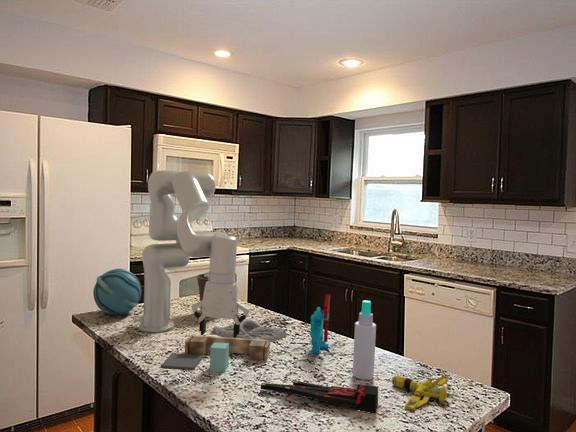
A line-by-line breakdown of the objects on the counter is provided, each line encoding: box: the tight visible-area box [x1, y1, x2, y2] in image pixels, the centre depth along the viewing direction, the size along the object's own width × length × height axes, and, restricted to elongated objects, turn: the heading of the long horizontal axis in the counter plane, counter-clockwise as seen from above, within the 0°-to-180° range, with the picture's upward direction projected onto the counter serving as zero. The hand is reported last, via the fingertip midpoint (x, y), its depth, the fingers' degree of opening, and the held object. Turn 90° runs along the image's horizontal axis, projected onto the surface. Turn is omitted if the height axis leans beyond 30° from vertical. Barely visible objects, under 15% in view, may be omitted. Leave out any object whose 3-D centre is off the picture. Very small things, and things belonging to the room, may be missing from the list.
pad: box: [160, 352, 204, 371], centre depth 135 cm, size 10×10×1 cm
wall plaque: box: [211, 319, 288, 343], centre depth 164 cm, size 24×19×4 cm
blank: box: [209, 342, 230, 373], centre depth 131 cm, size 4×4×7 cm
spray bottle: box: [352, 299, 377, 381], centre depth 129 cm, size 6×6×22 cm
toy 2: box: [309, 293, 331, 355], centre depth 148 cm, size 18×6×15 cm
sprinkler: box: [391, 375, 449, 411], centre depth 119 cm, size 19×4×15 cm
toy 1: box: [92, 268, 142, 316], centre depth 182 cm, size 18×20×20 cm
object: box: [195, 272, 209, 314], centre depth 190 cm, size 16×16×16 cm
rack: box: [184, 334, 271, 362], centre depth 142 cm, size 26×7×4 cm, turn 86°
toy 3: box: [260, 380, 379, 415], centre depth 115 cm, size 8×5×30 cm
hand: (219, 335), depth 131 cm, fingers open, 9 cm apart
